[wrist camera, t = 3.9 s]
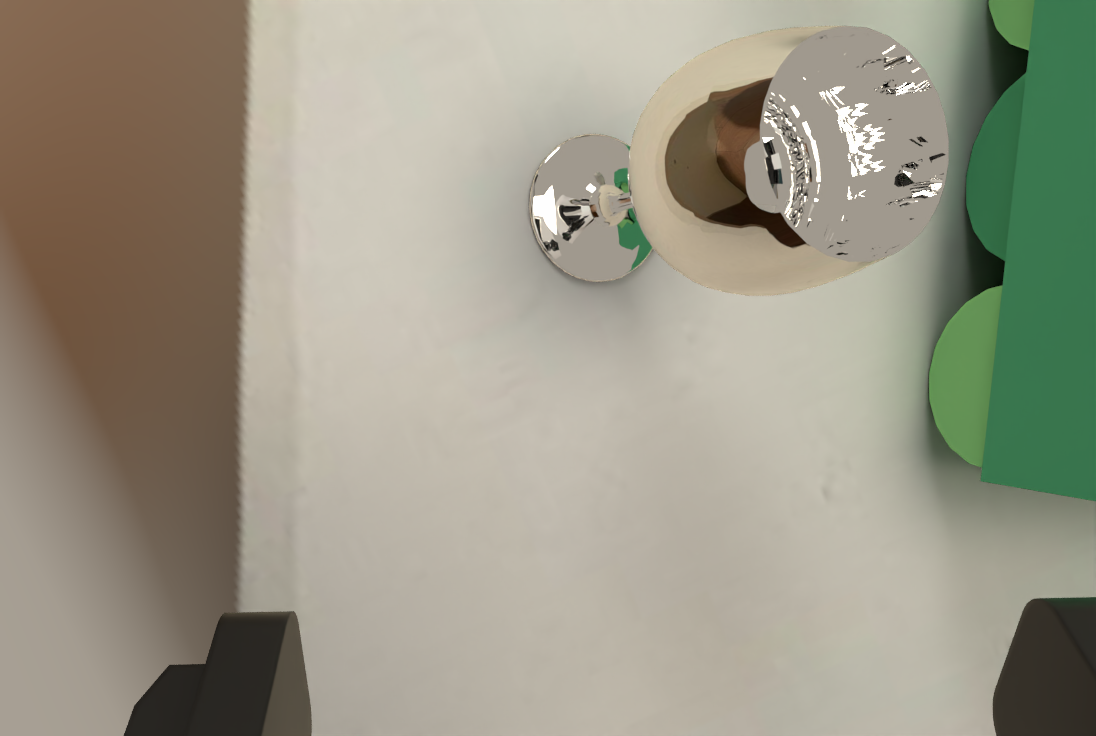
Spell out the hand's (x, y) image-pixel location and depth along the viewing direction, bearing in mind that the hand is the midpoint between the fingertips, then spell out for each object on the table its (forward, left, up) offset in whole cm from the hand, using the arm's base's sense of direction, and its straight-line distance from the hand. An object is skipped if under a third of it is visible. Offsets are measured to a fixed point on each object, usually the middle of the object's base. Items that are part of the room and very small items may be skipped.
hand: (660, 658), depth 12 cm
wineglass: (-3, +10, -19) cm, 22 cm away
